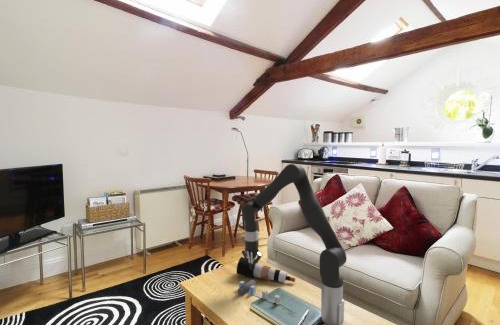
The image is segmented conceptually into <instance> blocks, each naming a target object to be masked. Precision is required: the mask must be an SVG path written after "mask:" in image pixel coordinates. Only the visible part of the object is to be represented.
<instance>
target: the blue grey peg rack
mask: <svg viewBox="0 0 500 325" xmlns="http://www.w3.org/2000/svg"><path fill="white" fill-rule="evenodd" d="M244 284H246V282H245V281H244V280H241V281H239V282H238V289H239V288H240V287H241V286H243V285H244ZM256 289H257V288H256V285H255V286H254V285H252V286H251V287H250V289H249V290H248V291H247V292H246V293H247V294H249V295H251V296H255V297H257V298H259V299H261V298H266V297H267V298H268V290H266V289H263V290H262V291H261V294H260V293H256V292H257V290H256ZM273 297H274V298H273V301H274V302H276V303H279V302H280V303H281V296H280V295H279V294H275V295H274V296H273Z"/></svg>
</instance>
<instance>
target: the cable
mask: <svg viewBox="0 0 500 325" xmlns="http://www.w3.org/2000/svg"><path fill="white" fill-rule="evenodd" d="M236 274H237V275H238V276H243V277H245V278H250V279H254V278H261V279H264V280H267V281H268V280H269V281H274V282H278V283H281V284H286V281H289V282H294V283H296V282H295V281H296V278H295V277H293V276H288V272H287V271H283V270H281V269H277V268H273V267H271V266H267V265H263V264H260V263H259V261H258V262H257V263H255V269H254V270H250V268H249V262H248V261H246V259H245V257H244V256H240V257H239V259H238V262H237V265H236Z"/></svg>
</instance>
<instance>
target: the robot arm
mask: <svg viewBox="0 0 500 325" xmlns="http://www.w3.org/2000/svg"><path fill="white" fill-rule="evenodd" d="M292 183H293V184H294V186H295V189H296V190H297V193H298V196H299V201H300V202H299V203H300V204H299V205H300V209H301V212H302V215H303V217H304V220H305V221H306V224H308V226H309V227H310V228H311V229H312V230H313V231H314V232H315V233H316V234H317V235H318V236H319V237H320V239H321V240H322V242H323V244H324V247H325V249H324V250H322V251H321V253H320V255H319V276H320V278H321V279H320V280H321V288H320V289H321V290H320V292H321V294H320V295H321V298H320V300H321V301H320V302H321V304H320V309H321V310H320V318H321V317H322V319H321V321H322V322H323V323H324V324H326V325H342V323H343V321H344V320H345V299H344V298H343V297H344V295H343V294H344V278H343V276H342V275H340V268H341V267H342V266H344V265H345V264H346V262H347V259H348V258H347V254H346V251H345V249H344V247H343V246H342V244H341V242H340V240H339V239H338V237H337V236H336V233H334V230H333V229H332V227H331V225H330V223H329V220H328V218H327V215H326V214H325V211H324V209H323V207H322V205H321V203H320V202H319V199H318V198H317V196H316V193H315V191H314V190H313V188H312V185H311V183H310V180H309V178H308V174H307V171H306V169H305V167H304V166H302V165H300V164H299V163H298V164H297V163H290V164H287V165H286V166H285V167H283V169H282V170H281V171H280V172H279V173H278V175H277V176H276V177H275V178H274V179H273V181H271V182H270V183H269V184H268V185H267V186H266V187H264V188H263V190H261V191H260V192H259V193H258V194H256V196H254V198H253V199H252V200H251V201H249V202H246V203H244V204H243V205H242V208H241V213H242V217H243V221H244V250H242V251H241V254H242V255H243V256H242V257H244V258H245V259H246V261H248V262H249V268H250V270H254V269H255V263H257V262H258V263H259V261H260V260H261V258H263V254H262V253H260V250H259V247H260V246H259V223H258V220H257V219H256V218H255V215H256V214H258V213H259V212H260V211H261V210H262V209H264V207H265V206H266V205H267V204H270V203H271V201H273V200H274V199H275V198H276V197H277V195H279V192H281V191H282V190H283V189H284V188H286V187H287V186H289V185H291V184H292Z"/></svg>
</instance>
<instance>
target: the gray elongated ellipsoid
mask: <svg viewBox="0 0 500 325" xmlns="http://www.w3.org/2000/svg"><path fill="white" fill-rule="evenodd" d="M256 283H257V282H256V281H255V279H250V280H249V281H247V282H245V284H244V285H243V286H241V287H240V288H239V287H238V288H237V294H238V295H239V296H242V295H244V294H246V293H247V291H248V290H250V287H251V286H252V285H254V286H256Z"/></svg>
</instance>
